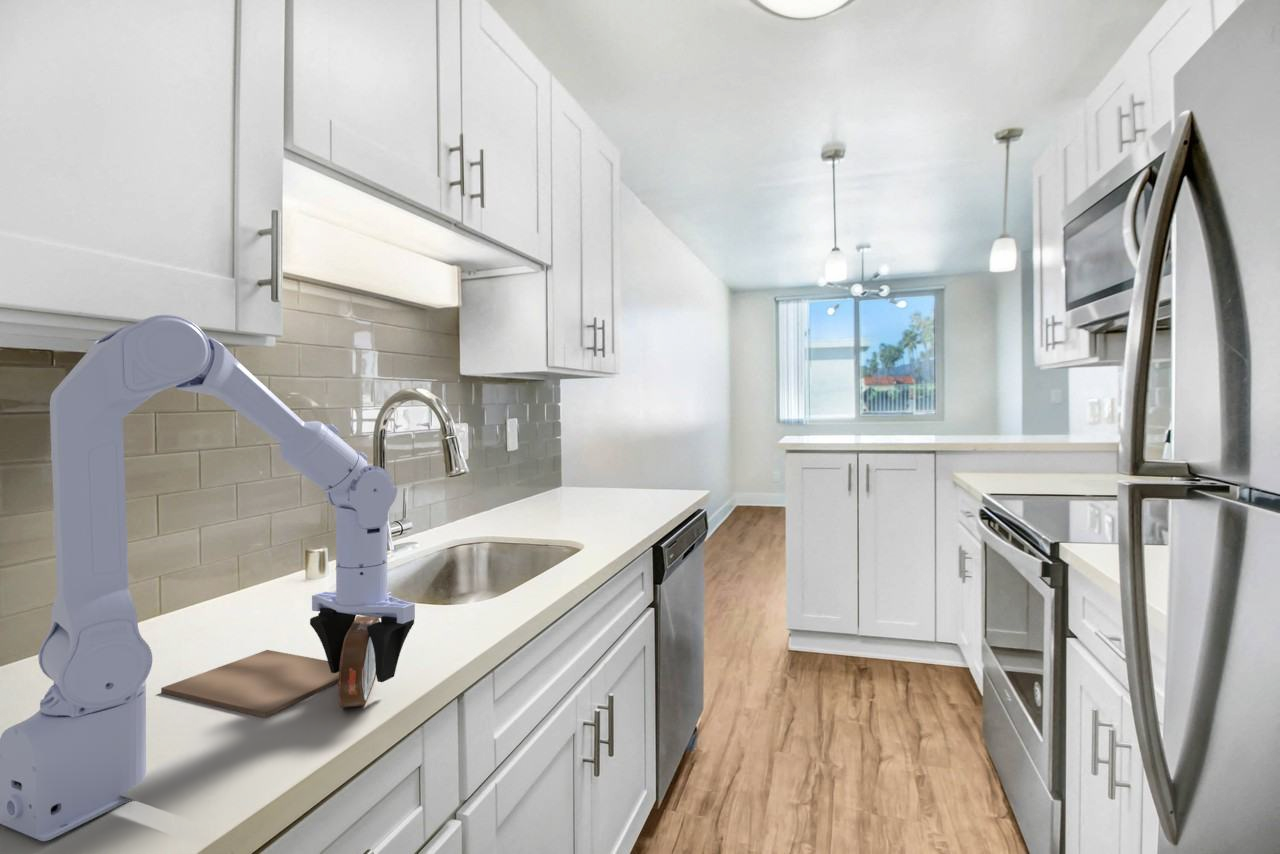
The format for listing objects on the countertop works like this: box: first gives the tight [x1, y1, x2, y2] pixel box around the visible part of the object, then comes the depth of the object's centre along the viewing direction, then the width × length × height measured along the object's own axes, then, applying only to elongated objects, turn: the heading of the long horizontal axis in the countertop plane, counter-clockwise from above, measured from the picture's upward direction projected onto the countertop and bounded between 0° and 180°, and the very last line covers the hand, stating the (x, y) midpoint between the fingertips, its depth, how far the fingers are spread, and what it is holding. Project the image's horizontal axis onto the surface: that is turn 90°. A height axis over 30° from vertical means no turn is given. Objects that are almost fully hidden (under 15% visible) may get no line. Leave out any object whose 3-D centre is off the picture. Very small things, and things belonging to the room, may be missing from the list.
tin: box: [337, 615, 381, 709], centre depth 76 cm, size 15×3×8 cm, turn 16°
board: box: [160, 649, 339, 718], centre depth 79 cm, size 14×18×1 cm
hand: (362, 674), depth 76 cm, fingers open, 7 cm apart
